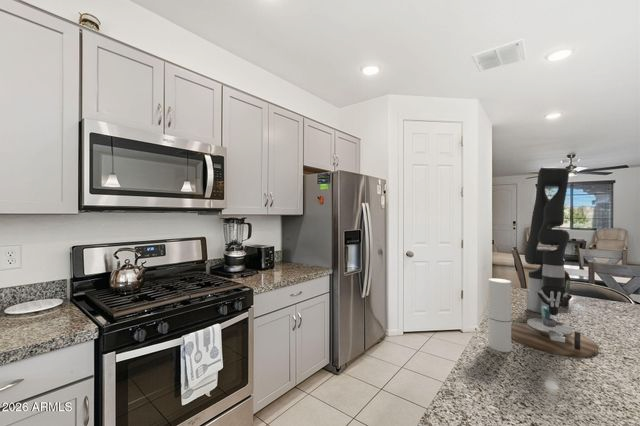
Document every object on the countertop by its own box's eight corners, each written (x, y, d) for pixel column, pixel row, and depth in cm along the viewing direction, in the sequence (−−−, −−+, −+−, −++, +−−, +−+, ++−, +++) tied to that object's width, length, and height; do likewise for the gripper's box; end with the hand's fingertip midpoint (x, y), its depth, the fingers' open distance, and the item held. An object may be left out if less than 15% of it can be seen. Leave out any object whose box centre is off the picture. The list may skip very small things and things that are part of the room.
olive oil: (544, 304, 160) (544, 259, 161) (547, 300, 168) (547, 258, 168) (569, 308, 153) (569, 262, 153) (571, 304, 160) (571, 260, 160)
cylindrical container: (508, 344, 109) (507, 279, 109) (513, 353, 102) (513, 283, 102) (486, 342, 111) (486, 277, 111) (491, 350, 104) (491, 281, 105)
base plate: (575, 364, 95) (575, 341, 95) (492, 332, 120) (492, 315, 120) (612, 347, 107) (612, 327, 107) (530, 322, 132) (530, 306, 132)
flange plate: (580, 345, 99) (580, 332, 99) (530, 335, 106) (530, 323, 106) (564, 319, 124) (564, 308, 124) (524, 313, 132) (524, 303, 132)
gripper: (538, 275, 122) (538, 316, 122) (576, 277, 118) (576, 319, 118) (532, 272, 130) (532, 310, 129) (567, 274, 125) (567, 313, 125)
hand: (553, 314), depth 124 cm, fingers closed
